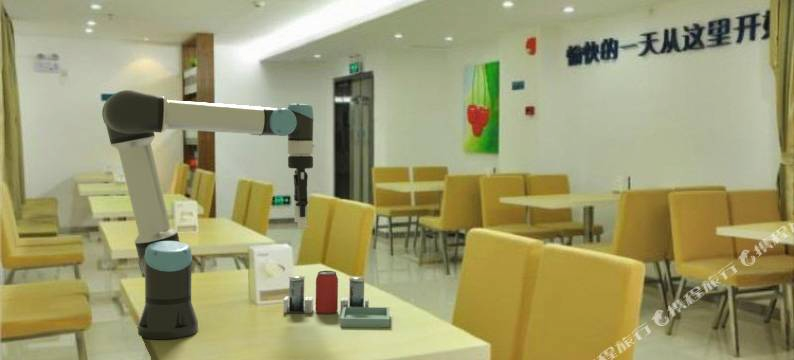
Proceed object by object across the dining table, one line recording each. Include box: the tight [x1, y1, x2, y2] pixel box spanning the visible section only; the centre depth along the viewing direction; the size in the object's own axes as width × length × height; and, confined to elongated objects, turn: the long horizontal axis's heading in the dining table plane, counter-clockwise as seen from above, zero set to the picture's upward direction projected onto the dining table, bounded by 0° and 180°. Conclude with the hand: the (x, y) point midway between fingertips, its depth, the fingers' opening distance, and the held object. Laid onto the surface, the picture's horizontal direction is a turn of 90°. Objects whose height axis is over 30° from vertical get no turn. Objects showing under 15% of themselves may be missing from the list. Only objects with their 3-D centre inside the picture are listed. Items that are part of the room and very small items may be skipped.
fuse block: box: [283, 275, 370, 315], centre depth 211 cm, size 5×25×10 cm, turn 91°
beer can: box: [315, 270, 339, 315], centre depth 211 cm, size 7×7×12 cm
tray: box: [339, 306, 391, 328], centre depth 202 cm, size 14×14×2 cm
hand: (300, 225), depth 214 cm, fingers open, 13 cm apart
